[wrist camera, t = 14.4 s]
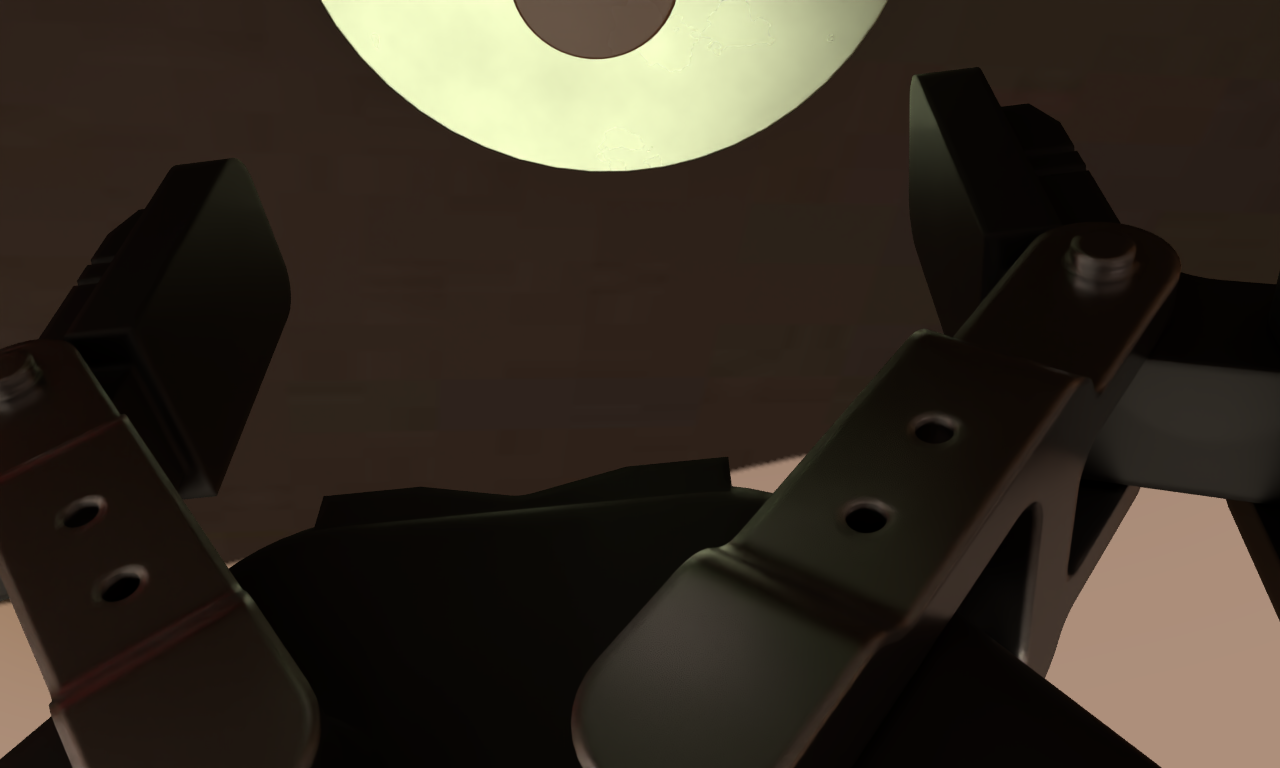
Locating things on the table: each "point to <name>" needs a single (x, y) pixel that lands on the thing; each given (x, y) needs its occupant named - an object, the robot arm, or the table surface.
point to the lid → (605, 70)
